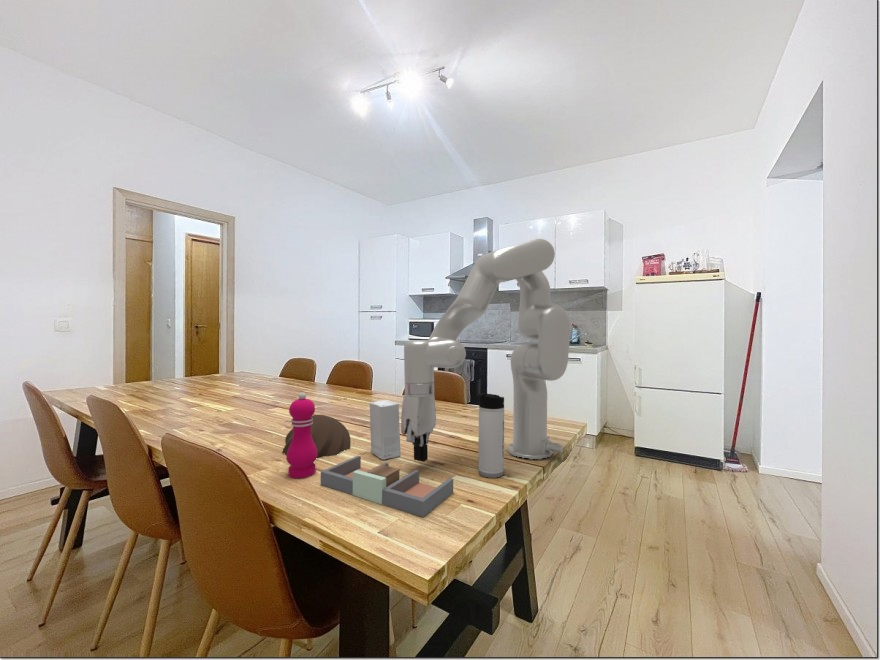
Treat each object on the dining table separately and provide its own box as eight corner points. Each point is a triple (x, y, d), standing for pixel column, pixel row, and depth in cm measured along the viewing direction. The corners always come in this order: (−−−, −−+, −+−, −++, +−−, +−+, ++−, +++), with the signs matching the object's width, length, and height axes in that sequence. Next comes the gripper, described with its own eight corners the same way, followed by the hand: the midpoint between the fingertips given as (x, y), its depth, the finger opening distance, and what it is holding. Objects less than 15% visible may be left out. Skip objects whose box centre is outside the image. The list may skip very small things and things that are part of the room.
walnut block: (399, 488, 82) (399, 468, 82) (385, 497, 78) (385, 476, 78) (382, 483, 85) (382, 464, 85) (367, 492, 81) (367, 471, 81)
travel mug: (472, 470, 93) (473, 391, 92) (495, 466, 95) (495, 390, 95) (485, 480, 87) (485, 396, 87) (508, 476, 89) (509, 394, 89)
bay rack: (453, 492, 80) (453, 469, 80) (422, 517, 70) (423, 491, 70) (357, 467, 95) (357, 447, 94) (320, 484, 84) (320, 463, 84)
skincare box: (400, 456, 102) (401, 403, 102) (380, 461, 99) (381, 406, 99) (387, 448, 109) (388, 398, 109) (368, 452, 106) (369, 400, 106)
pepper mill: (291, 468, 94) (291, 390, 94) (320, 467, 94) (320, 389, 94) (281, 479, 87) (282, 395, 86) (313, 478, 87) (313, 395, 87)
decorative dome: (267, 453, 105) (267, 418, 105) (318, 434, 123) (318, 405, 123) (316, 464, 97) (317, 427, 97) (364, 443, 114) (364, 411, 114)
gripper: (422, 383, 102) (424, 448, 102) (389, 392, 89) (391, 467, 89) (446, 385, 98) (447, 453, 98) (415, 395, 85) (416, 473, 86)
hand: (420, 459), depth 94 cm, fingers closed
